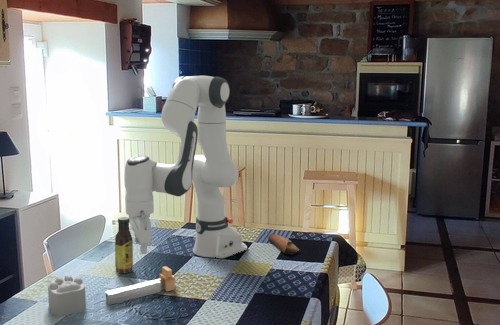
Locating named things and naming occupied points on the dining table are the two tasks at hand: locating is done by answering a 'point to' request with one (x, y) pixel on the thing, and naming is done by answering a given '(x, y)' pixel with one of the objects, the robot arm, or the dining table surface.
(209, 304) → the dining table surface
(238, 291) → the dining table surface
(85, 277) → the dining table surface
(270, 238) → the brown tapered cylinder
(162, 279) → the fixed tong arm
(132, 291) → the bar
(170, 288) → the collar
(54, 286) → the lumpy-topped squat cylinder
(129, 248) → the sauce bottle
